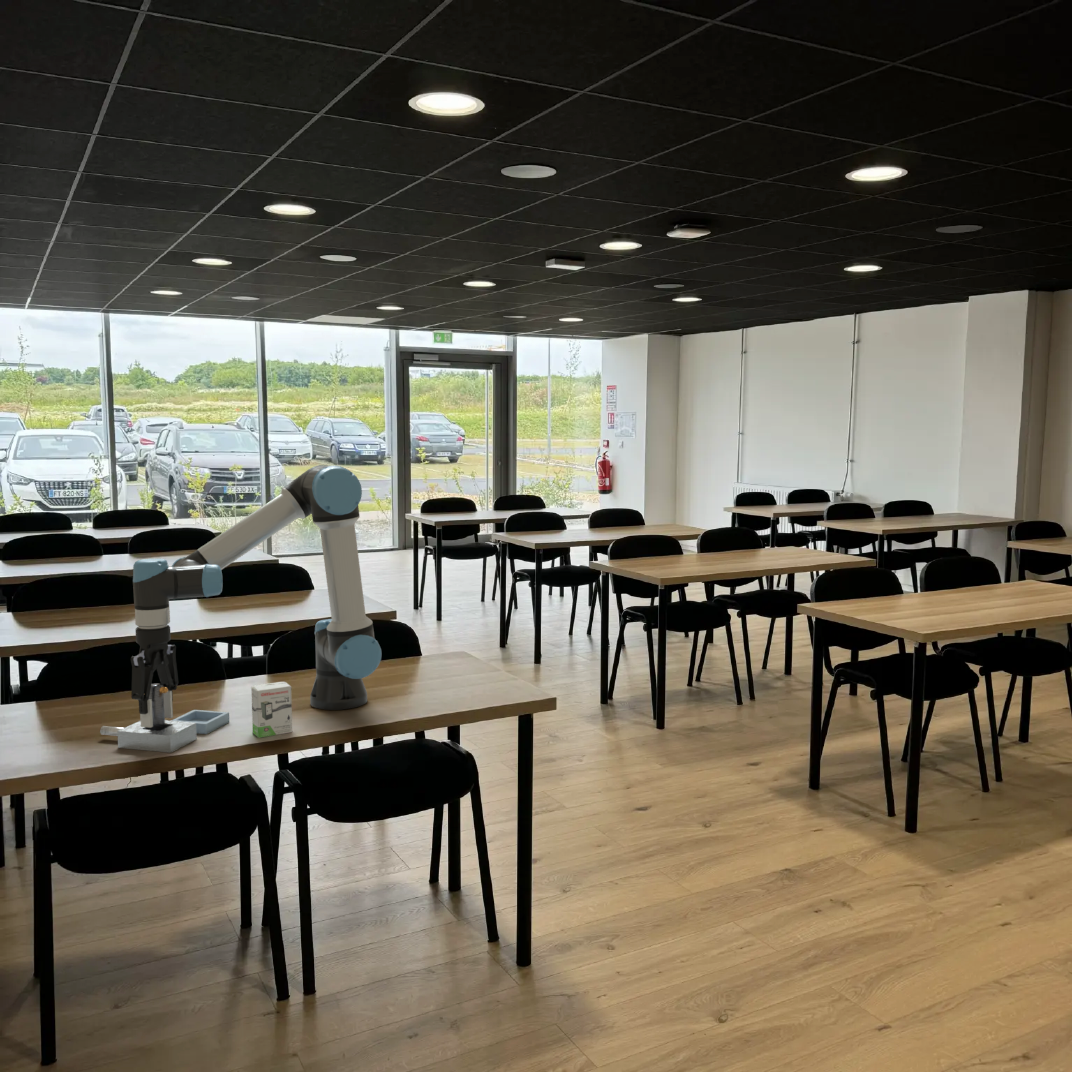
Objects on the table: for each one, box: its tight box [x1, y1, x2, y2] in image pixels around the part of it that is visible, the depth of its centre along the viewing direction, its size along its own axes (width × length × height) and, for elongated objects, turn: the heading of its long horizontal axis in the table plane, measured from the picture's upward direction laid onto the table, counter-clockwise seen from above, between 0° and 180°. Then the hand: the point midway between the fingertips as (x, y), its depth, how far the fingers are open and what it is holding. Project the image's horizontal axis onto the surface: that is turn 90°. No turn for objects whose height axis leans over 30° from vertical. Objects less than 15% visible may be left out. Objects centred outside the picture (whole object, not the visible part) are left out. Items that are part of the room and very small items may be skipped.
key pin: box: [149, 682, 168, 731], centre depth 224 cm, size 6×3×14 cm, turn 76°
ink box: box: [250, 681, 293, 739], centre depth 232 cm, size 9×5×12 cm, turn 123°
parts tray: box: [170, 709, 230, 735], centre depth 237 cm, size 10×10×2 cm
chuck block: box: [99, 719, 198, 754], centre depth 225 cm, size 22×10×4 cm, turn 76°
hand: (157, 721), depth 224 cm, fingers open, 7 cm apart
